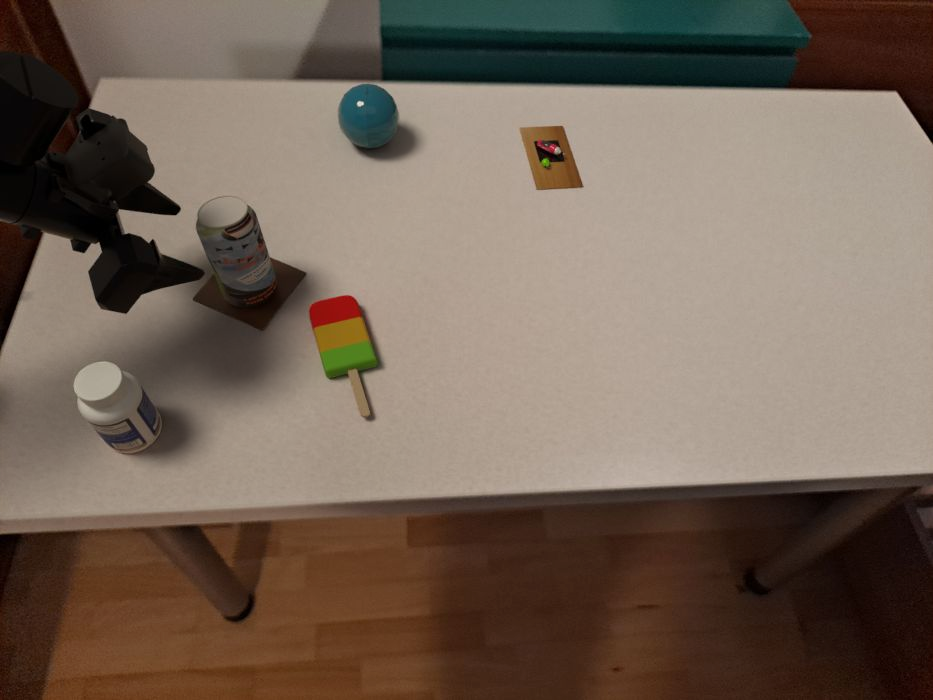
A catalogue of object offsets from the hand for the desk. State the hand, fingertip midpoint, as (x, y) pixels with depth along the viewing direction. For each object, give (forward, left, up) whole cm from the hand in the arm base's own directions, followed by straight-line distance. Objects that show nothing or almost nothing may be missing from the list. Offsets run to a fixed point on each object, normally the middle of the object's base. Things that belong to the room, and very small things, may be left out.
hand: (190, 242), depth 69 cm
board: (+47, +8, -10) cm, 49 cm away
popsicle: (+11, -13, -10) cm, 20 cm away
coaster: (+4, 0, -9) cm, 10 cm away
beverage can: (+4, 0, -9) cm, 10 cm away
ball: (+25, +19, -10) cm, 33 cm away
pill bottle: (-11, -13, -10) cm, 20 cm away
